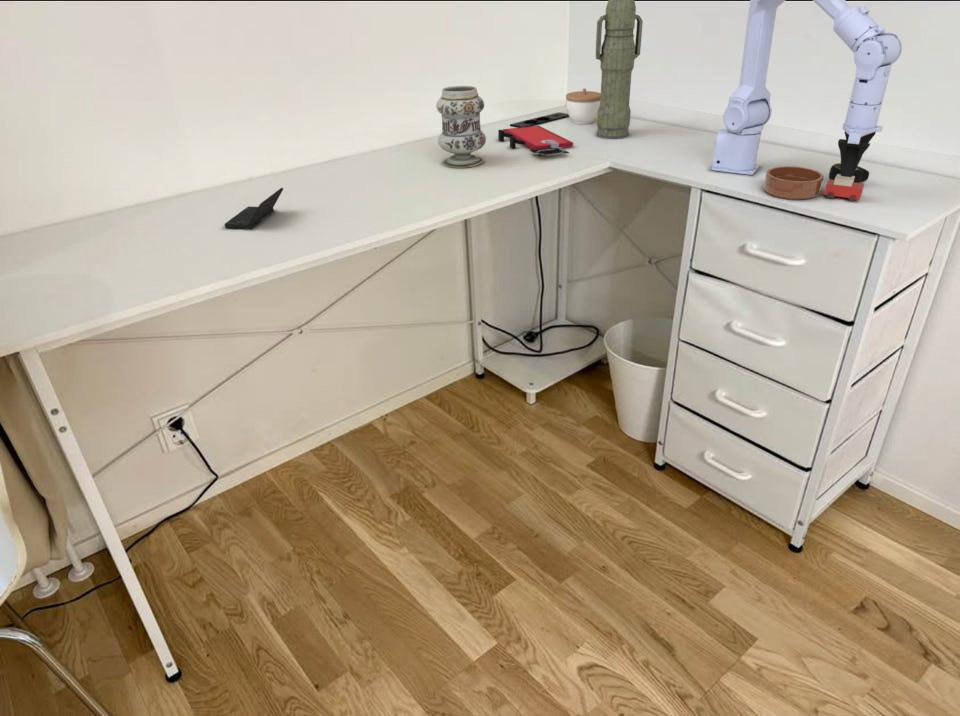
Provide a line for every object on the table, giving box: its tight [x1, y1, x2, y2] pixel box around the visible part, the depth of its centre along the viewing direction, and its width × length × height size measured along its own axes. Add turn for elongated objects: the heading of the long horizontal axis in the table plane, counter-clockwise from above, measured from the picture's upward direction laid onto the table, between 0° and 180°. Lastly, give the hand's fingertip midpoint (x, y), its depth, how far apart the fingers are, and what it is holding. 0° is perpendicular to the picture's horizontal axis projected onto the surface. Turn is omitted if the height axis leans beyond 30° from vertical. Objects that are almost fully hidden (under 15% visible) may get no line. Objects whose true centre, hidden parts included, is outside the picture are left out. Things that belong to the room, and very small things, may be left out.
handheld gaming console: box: [224, 187, 284, 230], centre depth 145 cm, size 12×7×10 cm
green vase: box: [595, 0, 644, 140], centre depth 187 cm, size 9×12×35 cm
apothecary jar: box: [435, 85, 487, 169], centre depth 173 cm, size 12×12×18 cm
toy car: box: [823, 174, 865, 203], centre depth 145 cm, size 7×4×4 cm, turn 59°
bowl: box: [763, 165, 824, 201], centre depth 149 cm, size 11×11×4 cm
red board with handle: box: [497, 125, 574, 157], centre depth 189 cm, size 30×3×15 cm
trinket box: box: [565, 88, 601, 125], centre depth 208 cm, size 11×11×9 cm
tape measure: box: [828, 162, 870, 183], centre depth 153 cm, size 7×7×4 cm
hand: (848, 171), depth 144 cm, fingers open, 7 cm apart
